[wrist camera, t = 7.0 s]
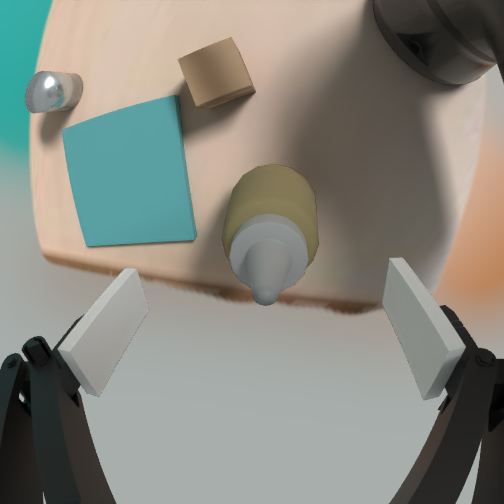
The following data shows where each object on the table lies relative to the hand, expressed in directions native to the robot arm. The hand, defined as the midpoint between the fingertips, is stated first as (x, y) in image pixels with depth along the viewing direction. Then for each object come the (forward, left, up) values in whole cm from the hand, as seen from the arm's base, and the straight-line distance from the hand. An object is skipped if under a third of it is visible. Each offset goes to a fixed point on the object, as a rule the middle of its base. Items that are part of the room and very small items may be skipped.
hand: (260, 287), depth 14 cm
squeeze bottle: (0, 0, -17) cm, 17 cm away
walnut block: (+4, -13, -17) cm, 22 cm away
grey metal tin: (+24, -17, -17) cm, 34 cm away
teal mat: (+17, -4, -17) cm, 24 cm away
